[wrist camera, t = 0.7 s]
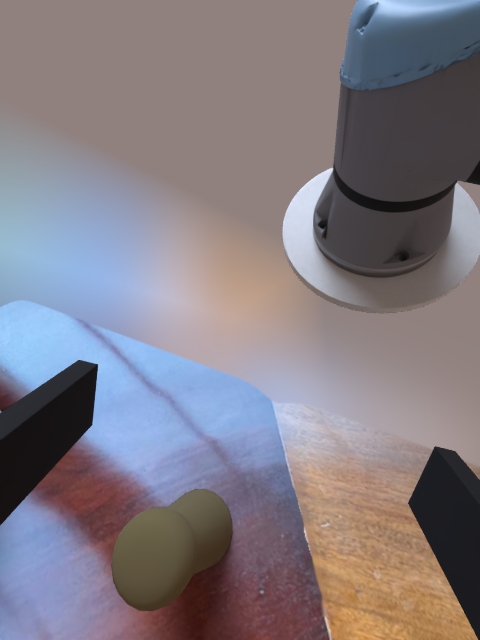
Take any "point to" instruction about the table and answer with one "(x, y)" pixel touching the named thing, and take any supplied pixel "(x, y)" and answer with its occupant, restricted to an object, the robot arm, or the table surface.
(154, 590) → the olive pawn piece
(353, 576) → the table surface
